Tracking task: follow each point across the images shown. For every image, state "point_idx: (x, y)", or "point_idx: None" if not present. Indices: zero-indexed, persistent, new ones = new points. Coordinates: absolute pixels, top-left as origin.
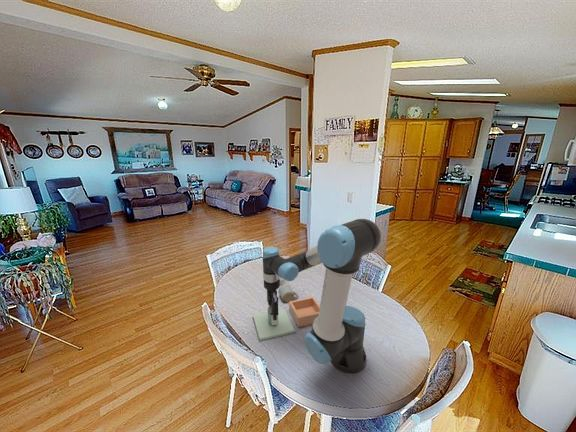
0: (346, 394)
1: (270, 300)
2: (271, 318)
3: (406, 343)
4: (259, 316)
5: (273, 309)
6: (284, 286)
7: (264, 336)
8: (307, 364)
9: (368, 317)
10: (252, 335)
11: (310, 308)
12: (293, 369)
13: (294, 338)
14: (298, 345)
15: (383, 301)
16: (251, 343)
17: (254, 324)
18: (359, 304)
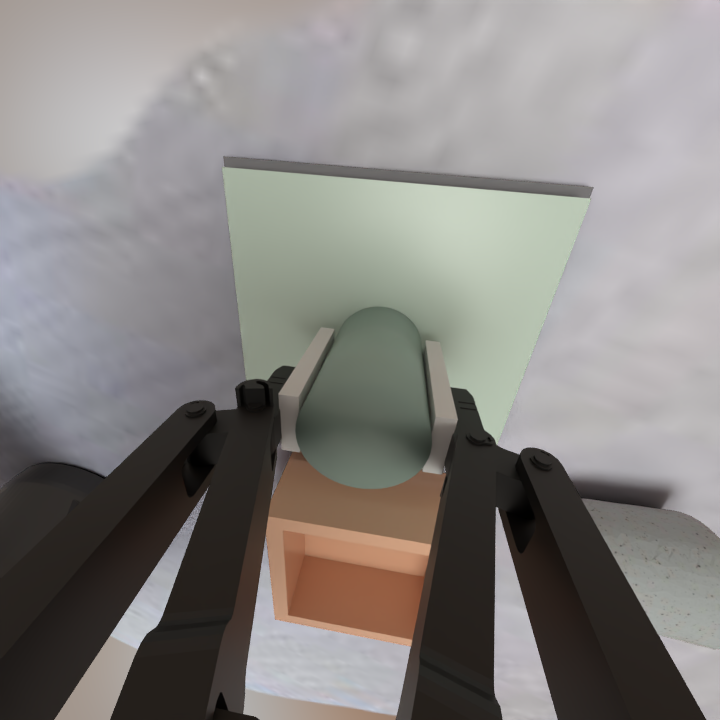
0: None
1: (144, 651)
2: (314, 358)
3: (146, 634)
4: (524, 262)
5: (97, 493)
6: (707, 629)
7: (240, 221)
8: (46, 381)
9: (272, 643)
10: (334, 116)
11: (409, 563)
12: (6, 307)
13: (223, 402)
14: (169, 398)
15: (331, 698)
16: (235, 74)
17: (461, 179)
18: (348, 663)
